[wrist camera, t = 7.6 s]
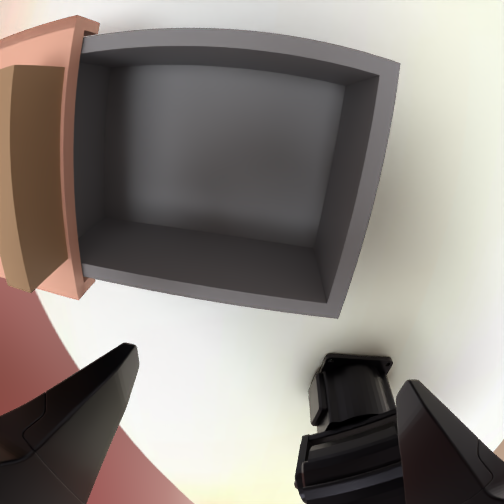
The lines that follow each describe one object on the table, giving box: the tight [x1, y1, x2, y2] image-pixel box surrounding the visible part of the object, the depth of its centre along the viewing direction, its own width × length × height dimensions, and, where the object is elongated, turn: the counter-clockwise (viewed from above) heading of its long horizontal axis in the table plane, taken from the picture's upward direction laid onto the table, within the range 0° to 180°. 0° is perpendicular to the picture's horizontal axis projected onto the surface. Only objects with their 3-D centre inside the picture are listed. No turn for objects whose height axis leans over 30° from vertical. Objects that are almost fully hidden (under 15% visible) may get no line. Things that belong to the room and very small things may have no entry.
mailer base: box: [73, 28, 400, 319], centre depth 15 cm, size 16×12×7 cm
